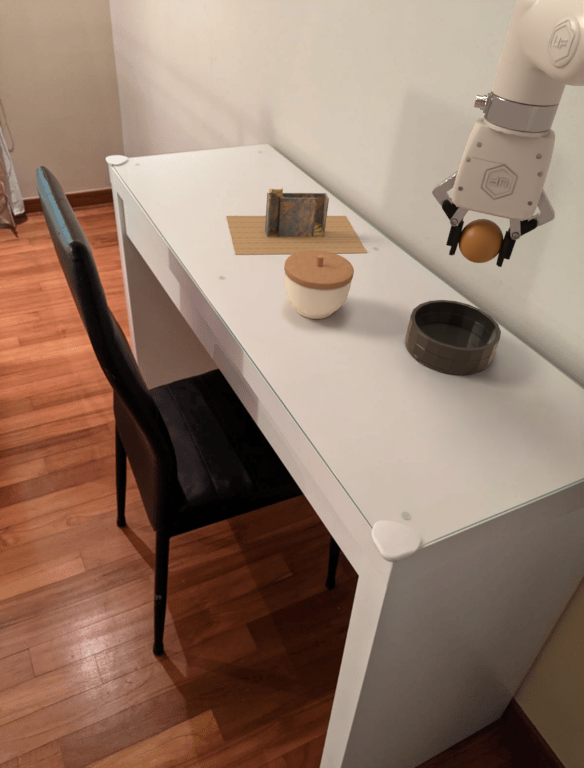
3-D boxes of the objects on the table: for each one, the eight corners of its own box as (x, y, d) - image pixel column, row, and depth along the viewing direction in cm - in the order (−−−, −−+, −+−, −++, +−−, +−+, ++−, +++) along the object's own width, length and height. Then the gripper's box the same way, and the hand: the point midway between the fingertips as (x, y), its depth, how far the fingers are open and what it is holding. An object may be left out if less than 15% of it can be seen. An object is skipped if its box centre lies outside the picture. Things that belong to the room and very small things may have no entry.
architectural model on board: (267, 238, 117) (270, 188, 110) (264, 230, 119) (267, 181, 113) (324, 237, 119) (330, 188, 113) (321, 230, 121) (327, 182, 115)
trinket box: (359, 307, 100) (368, 255, 94) (324, 335, 93) (332, 281, 87) (304, 284, 104) (310, 233, 98) (267, 310, 97) (271, 256, 91)
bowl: (495, 337, 97) (504, 313, 94) (487, 385, 87) (496, 360, 84) (414, 315, 99) (420, 292, 97) (396, 360, 90) (402, 335, 87)
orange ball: (497, 256, 83) (510, 217, 79) (493, 274, 79) (507, 234, 75) (456, 247, 84) (467, 208, 80) (450, 264, 80) (462, 224, 76)
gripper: (440, 108, 69) (407, 253, 80) (599, 137, 65) (541, 285, 76) (449, 93, 74) (417, 231, 86) (597, 119, 71) (543, 260, 82)
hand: (476, 255), depth 81 cm, fingers closed on orange ball, 5 cm apart
